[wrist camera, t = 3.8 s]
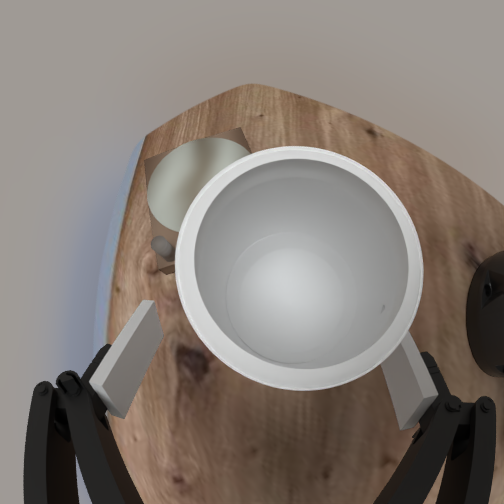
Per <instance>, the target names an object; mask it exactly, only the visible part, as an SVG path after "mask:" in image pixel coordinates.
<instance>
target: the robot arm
mask: <svg viewBox="0 0 504 504" xmlns="http://www.w3.org/2000/svg"><path fill="white" fill-rule="evenodd" d="M384 310H385V305H383V306H382V310H381V313H382V312H383V311H384ZM467 330H468V337H469V342H470V346H471V350H472V353H473V355H474V358H475V360H476V362H477V363H478V365H479V366H480V368H481V369H482V370H483V371H484V372H485V373H487V374H488V375H490V376H493V377H504V251H501V252H499V253H497V254H495V255H493V256H491V257H490V258H488V259H486V260H485V261H484V262H483V263H482V264H481V265H480V266H479V268H478V269H477V271H476V273H475V275H474V277H473V280H472V283H471V286H470V290H469V295H468V303H467ZM163 337H164V334H163V331H162V327H161V324H160V320H159V317H158V313H157V309H156V306H155V302H154V301H151V300H143V301H142V302H141V303H140V305H139V306H138V308H137V309H136V311H135V312H134V313H133V315H132V316H131V318H130V319H129V321H128V322H127V324H126V325H125V327H124V328H123V330H122V331H121V333H120V334H119V335H118V337H117V339H116V340H115V342H114V343H113V345H110V344H106V345H105V346H104V347H102V348H101V349H100V350H99V352H98V353H97V355H96V357H95V358H94V359H93V361H92V363H91V364H90V365H89V367H88V368H87V370H86V371H85V373H84V374H83V376H82V378H81V379H80V377H79V376H78V374H77V373H76V372H74V371H71V370H70V371H65V372H63V373H61V374H60V375H59V376H58V378H57V380H56V385H57V386H58V388H54V387H53V386H52V384H51V383H50V382H48V381H43V382H40V383H39V384H37V385H36V387H35V388H34V391H33V396H32V401H31V407H30V412H29V419H28V425H27V433H26V442H25V454H24V504H79V497H78V488H77V475H76V457H77V460H78V464H79V467H80V470H81V473H82V477H83V480H84V483H85V485H86V488H87V491H88V494H89V496H90V499H91V501H92V504H144V503H143V501H142V499H141V497H140V495H139V493H138V491H137V489H136V487H135V485H134V483H133V481H132V479H131V477H130V475H129V473H128V470H127V468H126V466H125V464H124V461H123V459H122V457H121V454H120V452H119V449H118V447H117V444H116V441H115V439H114V436H113V433H112V430H111V428H110V425H109V422H108V419H107V416H106V415H105V413H106V411H107V409H108V411H109V412H110V413H111V415H113V416H116V417H119V418H123V419H125V416H126V414H127V412H128V410H129V408H130V405H131V403H132V401H133V399H134V397H135V395H136V392H137V390H138V388H139V386H140V384H141V382H142V380H143V378H144V375H145V373H146V371H147V369H148V367H149V365H150V363H151V361H152V359H153V357H154V355H155V353H156V351H157V349H158V347H159V345H160V343H161V341H162V339H163ZM380 364H381V367H382V370H383V373H384V376H385V380H386V383H387V386H388V389H389V392H390V396H391V399H392V403H393V406H394V410H395V413H396V417H397V421H398V424H399V428H400V430H405V429H409V428H413V427H414V426H415V425H416V424H417V423H418V421H419V424H420V428H419V429H418V430H417V432H416V433H415V434H414V435H413V436H412V438H414V439H413V441H412V443H411V445H410V447H409V448H408V450H407V452H406V454H405V456H404V457H403V459H402V461H401V462H400V464H399V466H398V467H397V469H396V471H395V472H394V474H393V475H392V477H391V479H390V480H389V482H388V483H387V485H386V486H385V487H384V489H383V490H382V492H381V493H380V495H379V496H378V497H377V499H376V500H375V501H374V503H373V504H423V502H424V501H425V499H426V497H427V495H428V493H429V492H430V490H431V488H432V486H433V484H434V482H435V480H436V478H437V476H438V474H439V472H440V470H441V468H442V465H443V463H444V461H445V458H446V456H447V459H446V464H445V469H444V473H443V478H442V482H441V486H440V490H439V494H438V497H437V501H436V504H488V502H489V497H490V492H491V486H492V479H493V471H494V461H495V447H496V407H495V403H494V402H493V400H492V399H491V398H489V397H487V396H482V397H480V398H479V399H478V400H477V401H476V402H475V403H463V402H462V401H461V400H460V399H459V398H458V397H456V396H454V395H451V394H450V392H449V389H448V387H447V385H446V383H445V381H444V378H443V376H442V374H441V373H440V370H439V368H438V367H437V364H436V362H435V360H434V358H433V357H432V356H431V355H430V354H429V353H428V352H422V353H420V352H419V350H418V348H417V346H416V344H415V342H414V340H413V338H412V336H411V334H410V332H409V330H408V332H407V333H406V335H405V337H404V338H403V340H402V341H401V342H400V344H399V345H398V346H397V348H396V349H395V350H394V351H393V352H392V353H391V354H390V355H389V356H388V357H387V358H386V359H385V360H384V361H383V362H382V363H380ZM75 456H76V457H75Z"/></svg>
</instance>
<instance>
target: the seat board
mask: <svg viewBox="0 0 504 504" xmlns="http://www.w3.org/2000/svg"><path fill="white" fill-rule="evenodd" d="M250 154H252V153H251V151H250V148H249V146H248V144H247V141H246V139H245V136H244V134H243V132H242V129H241V127H240V128H236V129H233V130H229V131H226V132H222V133H219V134H216V135H213V136H209V137H206V138H203V139H197V140H194V141H190V142H188V143H185V144H183V145H181V146H179V147H177V148H174V149H171V150H169V151H166V152H163V153H161V154H158V155H156V156H153V157H151V158H148V159H146V160H144V162H145V174H146V185H147V200H148V205H149V212H150V219H151V227H152V234H153V240H152V242H151V248H152V249H153V250H154V251H155V253H156V259H157V264H158V269H159V270H160V271H162V272H163V273H164V274H166V275H167V274H170V273H173V272H175V253H176V245H177V240H178V235H179V231H180V228H181V225H182V222H183V220H184V217H185V215H186V213H187V211H188V209H189V207H190V205H191V204H192V202H193V200H194V199H195V197H196V196H197V195H198V193H199V192H200V191H201V189H202V188H203V187H204V186H205V185H206V184H207V183H208V182H209V181H210V180H211V179H212V178H213V177H214V176H215V175H216V174H218V173H219V172H220V171H221V170H223V169H224V168H226V167H227V166H229V165H230V164H232V163H233V162H235V161H237V160H239V159H241V158H243V157H245V156H248V155H250Z"/></svg>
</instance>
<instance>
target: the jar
mask: <svg viewBox="0 0 504 504" xmlns="http://www.w3.org/2000/svg"><path fill="white" fill-rule="evenodd" d="M175 275H176V283H177V288H178V293H179V297H180V300H181V303H182V306H183V309H184V311H185V313H186V316H187V318H188V320H189V322H190V323H191V325H192V327H193V329H194V330H195V332H196V333H197V335H198V336H199V338H200V339H201V340H202V342H203V343H204V344H205V345H206V346H207V347H208V349H209V350H210V351H211V352H212V353H213V354H214V355H215V356H216V357H218V358H219V359H220V360H221V361H222V362H223V363H225V364H226V365H227V366H229V367H230V368H232V369H233V370H235V371H236V372H238V373H240V374H241V375H243V376H245V377H247V378H249V379H251V380H254V381H256V382H259V383H262V384H264V385H268V386H271V387H275V388H280V389H286V390H297V391H311V390H321V389H327V388H332V387H336V386H339V385H342V384H345V383H348V382H350V381H353V380H355V379H357V378H359V377H361V376H363V375H365V374H366V373H368V372H369V371H371V370H373V369H374V368H375V367H377V366H378V365H379V364H380V363H382V362H383V361H384V360H385V359H386V358H387V357H388V356H389V355H390V354H391V353H392V352H393V351H394V350H395V349H396V348H397V346H398V345H399V344H400V342H401V341H402V340H403V338H404V337H405V335H406V333H407V332H408V330H409V328H410V326H411V324H412V322H413V320H414V317H415V315H416V312H417V309H418V306H419V302H420V298H421V293H422V286H423V258H422V252H421V246H420V242H419V239H418V235H417V232H416V230H415V227H414V225H413V222H412V220H411V218H410V216H409V214H408V212H407V211H406V209H405V207H404V206H403V204H402V203H401V201H400V200H399V198H398V197H397V196H396V195H395V193H394V192H393V191H392V190H391V189H390V188H389V187H388V186H387V184H385V183H384V182H383V181H382V180H381V179H380V178H379V177H378V176H377V175H375V174H374V173H373V172H371V171H370V170H369V169H367V168H366V167H364V166H362V165H361V164H359V163H357V162H356V161H354V160H352V159H350V158H347V157H345V156H343V155H340V154H337V153H334V152H331V151H327V150H323V149H319V148H313V147H303V146H287V147H277V148H271V149H267V150H263V151H259V152H256V153H253V154H250V155H248V156H245V157H243V158H241V159H239V160H237V161H235V162H233V163H232V164H230V165H229V166H227V167H226V168H224V169H223V170H221V171H220V172H219V173H218V174H216V175H215V176H214V177H213V178H212V179H211V180H210V181H209V182H208V183H207V184H206V185H205V186H204V187H203V188H202V189H201V191H200V192H199V193H198V195H197V196H196V197H195V199H194V200H193V202H192V204H191V205H190V207H189V209H188V211H187V213H186V215H185V217H184V220H183V222H182V225H181V228H180V231H179V235H178V240H177V245H176V253H175ZM383 305H385V310H384V311H383V312H382V313H381V310H382V306H383Z"/></svg>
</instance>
